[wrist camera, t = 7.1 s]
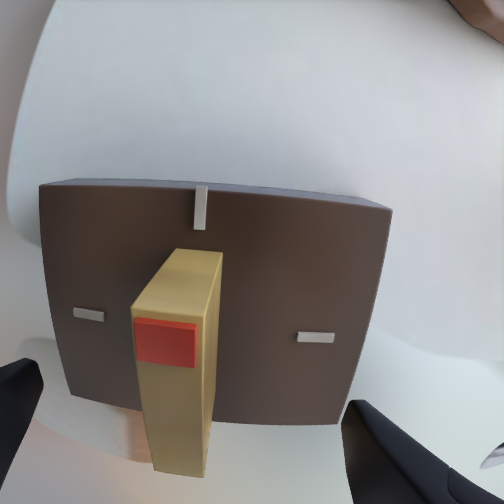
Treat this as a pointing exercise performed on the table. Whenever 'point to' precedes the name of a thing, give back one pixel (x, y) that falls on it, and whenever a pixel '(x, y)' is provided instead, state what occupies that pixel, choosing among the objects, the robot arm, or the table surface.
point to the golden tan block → (178, 358)
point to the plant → (483, 15)
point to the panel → (232, 287)
